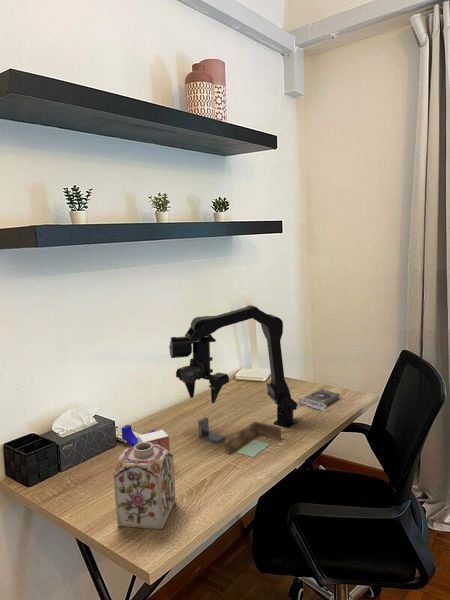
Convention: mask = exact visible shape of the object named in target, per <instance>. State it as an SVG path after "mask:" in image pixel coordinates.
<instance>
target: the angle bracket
mask: <svg viewBox="0 0 450 600" xmlns="http://www.w3.org/2000/svg"><path fill="white" fill-rule="evenodd" d="M197 425H198V438H199V439H201V440H204V441H207V442H211V443H213V444H218V445H219V444H220V443H221V442H223V441H225V440H226V436H225V435H222V434H217V433H214V432H212V431H210V427H209V417H204V418H201V419H200V420H198V422H197Z"/></svg>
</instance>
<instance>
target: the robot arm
mask: <svg viewBox="0 0 450 600" xmlns="http://www.w3.org/2000/svg"><path fill="white" fill-rule="evenodd" d="M252 319H253V320H254V321H256V322H257V323H259V324H260V326H261V330H262V333H263V335H264V338H265V339H266V343H267V350H268V359H269V369H270V370H269V371H270V376H271V377H270V378H271V380H270V382H269V383H266V388H267V393H266V394H267V395H268V397H269V398H270V399H271V401H274V402H273V403H274V404H276V405H277V406H276V420H275V421H274V422H273V424H274V425H277V426H281V427H285V428H291V427H292V426H294V425H295V424H296V423H297V422H298V419H295V418H294V411H295V410H297V407H298V406H299V403H297V402H296V401H295V400H294V399H293V398H292V395H291V392H290V388H289V386H288V384H287V382H286V381H287V380H286V379H285V372H284V364H283V363H284V361H283V353H282V346H281V345H282V344H281V341H282V336H283V333H284V322H283V320H282V318H280V317H278V316H275V315H274V314H272V313H271V314H270V313H269V314H268V313H266V312H264V311H263V310H261V309H259V308H258V307H257V306H255V305H249V304H248V306H246V307H242V308H238V309H235V310H232V311H228V312H224V313H221V314H217V315H203V316H196V317H194V318H193V319H192V320H191V323H190V327H189V328H188V330H187V331H186V333H185V334H184V336H171V337H170V342H169V356H170V359H177V358H179V359H180V358H188V357H190V356H191V354H192V358H190V360H189V365H185V366H182V367H179V368H177V369H176V371H175V377H176V378H178V379H179V381H181V382H182V383H184V385H185V388H186V390H187V392H188V394H189V397H190V398H191V399H193V398H194V396H195V387H196V381H197V380H198V381H199V380H200V379H202V380H207V381H208V383H209V385H208V387H209V388H210V392H211V393H210V394H211V396H210V398H211V404H214V403H216V401H217V398H218V396H219V394H220V391H221V390H222V387H223V386H225V385H227V384H229V383H230V376H229V375H228V373H222V372H217V373H214V370H213V369H212V368H211V362H212V361H213V356H211V343H216V342H217V340H216V339H215V338H214V337H213V335H212V334H213V333H215V332H216V331H218V330H220V329H221V328H224V327H228V326H231V325H235V324H238V323H241V322H244V321H247V320H252ZM212 373H214V374H212Z"/></svg>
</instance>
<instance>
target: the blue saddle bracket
mask: <svg viewBox="0 0 450 600" xmlns="http://www.w3.org/2000/svg"><path fill="white" fill-rule="evenodd" d="M156 431H157V430H154V429H152V430H151V431H149V432H148V433H152V432H156ZM121 437H122V438H121V441H122V439H124V440H126V441H127V445H129V446H132V447H134V446H135V445H136V444H138V436H136V435H135V433H134V432H133V430H132V425H130V424H126V425H124V426H123V427H121ZM123 443H124V441H122V444H123ZM129 446H128V447H129Z"/></svg>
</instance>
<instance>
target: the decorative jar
mask: <svg viewBox="0 0 450 600" xmlns="http://www.w3.org/2000/svg"><path fill="white" fill-rule="evenodd" d="M174 469H175V468H174V454H173V453H172V452H169V451H168V450H167V449H165V448H164V447H162V446H160V445H156V444H152V443H150V442H141V443H138V444H136V445H135V446H134V447H128V448H125V449H124V450H123V452H121V454H120V455H119V457H118V460H117V462H116V465H115V468H114V472H113V475H112V476H113V485H114V487H113V488H114V499H115V500H114V501H115V504H114V505H115V513H116V523H117V524H116V525H117V527H127V528H138V529H139V528H141V529H152V530H153V529H154V530H155V529H156V530H163V529H164V527H165V525H166V522H167V520H168V518H169V516H170V513H171V511H172V509H173V507H174V506H175V503H176V487H175V486H176V485H175V483H176V482H175V470H174Z"/></svg>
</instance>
